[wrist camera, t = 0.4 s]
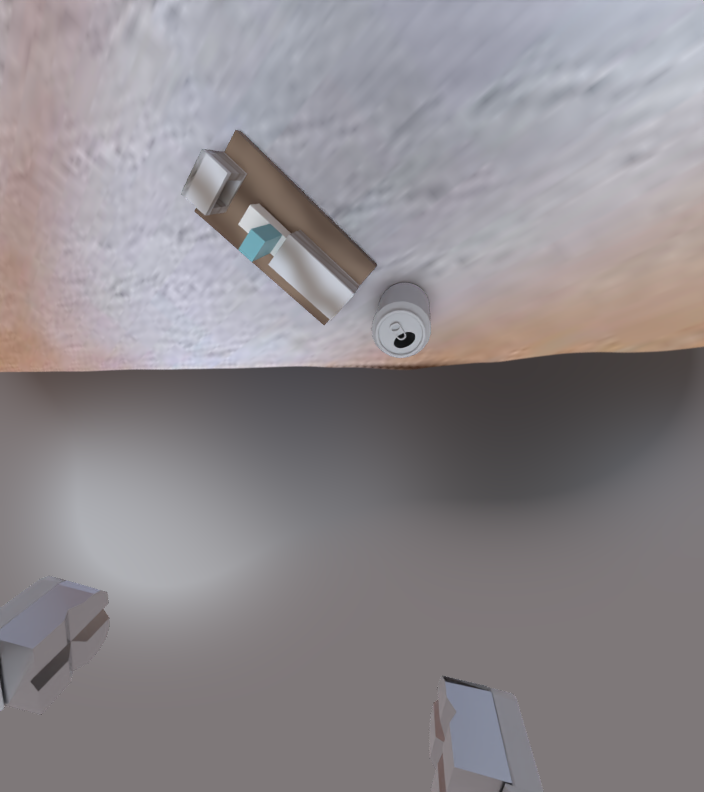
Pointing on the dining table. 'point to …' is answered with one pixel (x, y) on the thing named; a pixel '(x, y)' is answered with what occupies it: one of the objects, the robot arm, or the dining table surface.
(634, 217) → the dining table surface
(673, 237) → the dining table surface
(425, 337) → the can
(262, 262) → the brown board
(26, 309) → the dining table surface
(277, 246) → the white and teal block
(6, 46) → the dining table surface
